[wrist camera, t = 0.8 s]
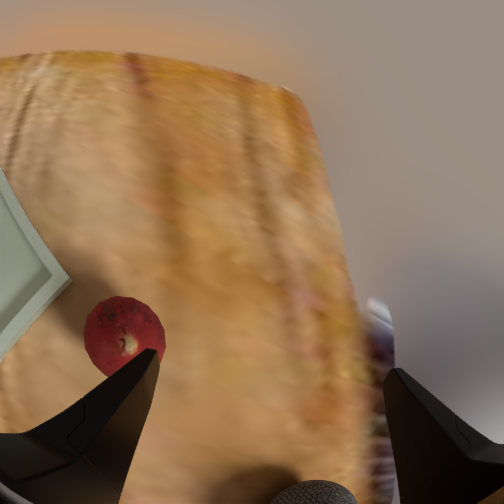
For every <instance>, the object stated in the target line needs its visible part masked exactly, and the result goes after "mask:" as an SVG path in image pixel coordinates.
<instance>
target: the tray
mask: <svg viewBox="0 0 504 504" xmlns="http://www.w3.org/2000/svg"><path fill="white" fill-rule="evenodd" d="M72 282H73V281H72V280H71V278H70V277H69V276H68V275H67V273H66V272H65V271H64V269H63V268H62V267H61V265H60V264H59V263H58V261H57V260H56V259H55V257H54V256H53V255H52V253H51V252H50V250H49V249H48V247H47V246H46V245H45V243H44V242H43V240H42V239H41V237H40V236H39V234H38V233H37V231H36V230H35V228H34V226H33V225H32V223H31V222H30V220H29V218H28V217H27V215H26V214H25V212H24V210H23V208H22V207H21V205H20V203H19V202H18V200H17V198H16V196H15V194H14V193H13V191H12V189H11V187H10V185H9V183H8V181H7V179H6V177H5V175H4V173H3V171H2V169H1V167H0V362H1V361H2V360H3V358H4V357H5V356H6V355H7V353H8V352H9V351H10V350H11V348H12V347H13V346H14V345H15V343H16V342H17V341H18V340H19V339H20V338H21V336H22V335H23V334H24V333H25V332H26V330H27V329H28V328H29V327H30V326H31V325H32V324H33V323H34V321H35V320H36V319H37V318H38V317H39V316H40V315H41V314H42V313H43V311H44V310H45V309H46V308H47V307H48V306H49V305H50V304H51V303H52V302H53V301H54V300H55V299H56V298H57V297H58V296H59V295H60V294H61V293H62V292H63V291H64V290H65V289H66V288H67V287H68V286H69V285H70V284H71V283H72Z"/></svg>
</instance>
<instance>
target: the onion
mask: <svg viewBox="0 0 504 504" xmlns="http://www.w3.org/2000/svg"><path fill="white" fill-rule="evenodd" d="M84 341H85V349H86V351H87V353H88V355H89V357H90V358H91V360H92V362H93V364H94V365H95V366H96V367H97V368H98V369H99V370H100V371H101V372H102V373H103V374H104V375H105V376H108V377H109V376H111V375H112V374H113V373H115V372H116V371H117V370H119V369H120V368H121V367H122V366H124V365H125V364H126V363H128V362H129V361H130V360H131V359H133V358H134V357H135V356H137V355H138V354H139V353H140V352H142V351H143V350H144V349H146V348H151V349H156V350H157V351H158V355H159V363H161V360H162V357H163V354H164V351H165V348H166V342H165V331H164V329H163V327H162V324H161V322H160V320H159V318H158V316H157V315H156V314H155V313H154V312H153V311H152V310H151V308H150V307H149V306H148V305H146V304H144V303H142V302H140V301H138V300H136V299H134V298H131V297H120V296H114V297H112V298H109V299H107V300H104V301H102V302H99V304H98V305H97V306H96V307H95V308H94V309H93V310H92V312H91V313H90V314H89V315H88V318H87V321H86V325H85V329H84Z"/></svg>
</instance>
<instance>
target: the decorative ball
mask: <svg viewBox="0 0 504 504" xmlns="http://www.w3.org/2000/svg"><path fill="white" fill-rule="evenodd" d="M270 504H358V503H357V501H356V499H355V497H354V496H353V494H352V493H351V492H350V491H349V490H348V489H346V488H345V487H343V486H342V485H339V484H337V483H334V482H331V481H325V480H309V481H303V482H299V483H296V484H294V485H292V486H290V487H288V488H286V489H284V490H283V491H281V492H280V493H279V494H278V495H277V496H276V497H275V498H274V499H273V500H272V501H271V502H270Z"/></svg>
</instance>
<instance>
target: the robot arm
mask: <svg viewBox="0 0 504 504" xmlns="http://www.w3.org/2000/svg"><path fill="white" fill-rule="evenodd" d="M159 369H160V363H159V355H158V351H157V350H156V349H151V348H146V349H144V350H143V351H142V352H140V353H139V354H138V355H137V356H135V357H134V358H133V359H131V360H130V361H129V362H128V363H126V364H125V365H124V366H122V367H121V368H120V369H119V370H117V371H116V372H115V373H113V374H112V375H111V376H109V377H108V378H107V379H106V380H104V381H103V382H102V383H100V384H99V385H98V386H97V387H95V388H94V389H93V390H91V391H90V392H89V393H87V394H86V395H85V396H84V397H83V398H81V399H79V400H78V401H77V402H76V403H74V404H73V405H71V406H70V407H69V408H67V409H66V410H64V411H63V412H61V413H59V414H58V415H56V416H55V417H53V418H51V419H49V420H48V421H46V422H44V423H42V424H40V425H39V426H37V427H35V428H33V429H31V430H29V431H26V432H23V433H0V504H118V503H119V500H120V496H121V493H122V490H123V486H124V483H125V480H126V477H127V474H128V471H129V468H130V465H131V462H132V459H133V456H134V453H135V450H136V447H137V444H138V441H139V438H140V435H141V432H142V429H143V427H144V424H145V421H146V418H147V415H148V413H149V410H150V407H151V403H152V399H153V395H154V391H155V386H156V382H157V378H158V374H159ZM382 388H383V396H384V404H385V413H386V419H387V424H388V429H389V434H390V439H391V444H392V450H393V455H394V461H395V467H396V473H397V480H398V488H399V495H400V504H504V444H497V443H494V442H492V441H491V440H489V439H488V438H486V437H485V436H483V435H482V434H481V433H479V432H478V431H476V430H475V429H474V428H472V427H471V426H469V425H468V424H467V423H466V422H464V421H463V420H462V419H461V418H459V417H458V416H457V415H455V414H454V412H452V411H451V410H450V409H449V408H448V407H446V406H445V405H444V404H443V403H442V402H441V401H439V400H438V399H437V398H436V397H435V396H434V395H432V394H431V393H430V392H429V391H428V390H426V389H425V388H424V387H423V386H422V385H420V384H419V383H418V382H417V381H416V380H415V379H413V378H412V377H411V376H410V375H409V374H407V373H406V372H405V371H404V370H403V369H401V368H392V369H391V370H390V371H389V373H388V374H387V376H386V377H385V379H384V381H383V384H382Z"/></svg>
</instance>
